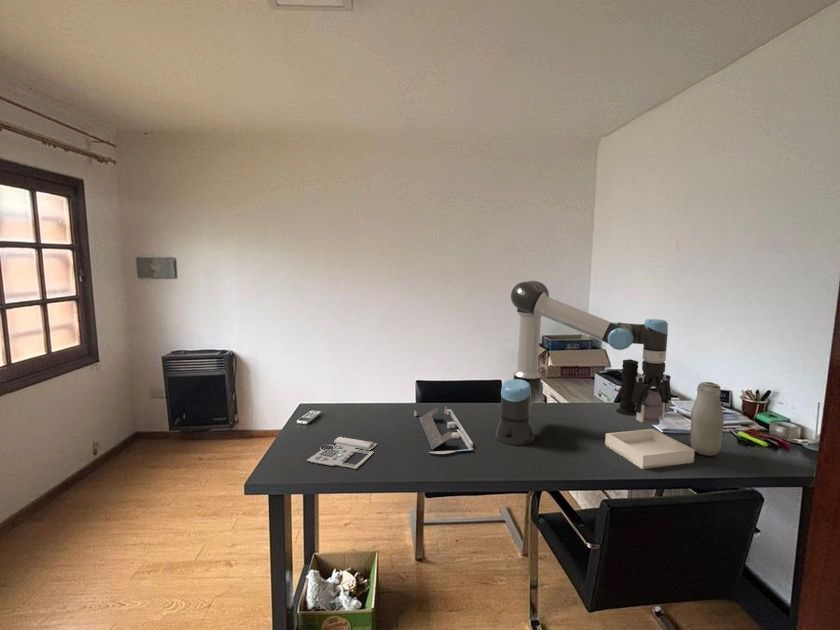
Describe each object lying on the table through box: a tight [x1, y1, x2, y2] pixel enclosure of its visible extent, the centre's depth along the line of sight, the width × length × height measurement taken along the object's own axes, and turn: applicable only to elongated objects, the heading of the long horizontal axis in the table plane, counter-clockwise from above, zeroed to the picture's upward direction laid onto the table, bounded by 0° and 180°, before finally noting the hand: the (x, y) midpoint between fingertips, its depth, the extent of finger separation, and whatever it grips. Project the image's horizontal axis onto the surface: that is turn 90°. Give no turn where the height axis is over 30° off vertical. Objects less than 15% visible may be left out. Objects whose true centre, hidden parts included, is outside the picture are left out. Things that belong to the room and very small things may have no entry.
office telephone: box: [306, 436, 378, 470], centre depth 159 cm, size 23×3×20 cm
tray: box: [604, 428, 696, 470], centre depth 159 cm, size 22×20×5 cm
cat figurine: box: [642, 390, 663, 426], centre depth 157 cm, size 9×8×12 cm
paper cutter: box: [413, 406, 474, 455], centre depth 179 cm, size 18×45×6 cm, turn 9°
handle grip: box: [615, 358, 639, 417], centre depth 203 cm, size 10×26×10 cm
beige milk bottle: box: [689, 381, 725, 457], centre depth 158 cm, size 10×10×28 cm
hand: (650, 419), depth 158 cm, fingers closed on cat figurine, 8 cm apart
